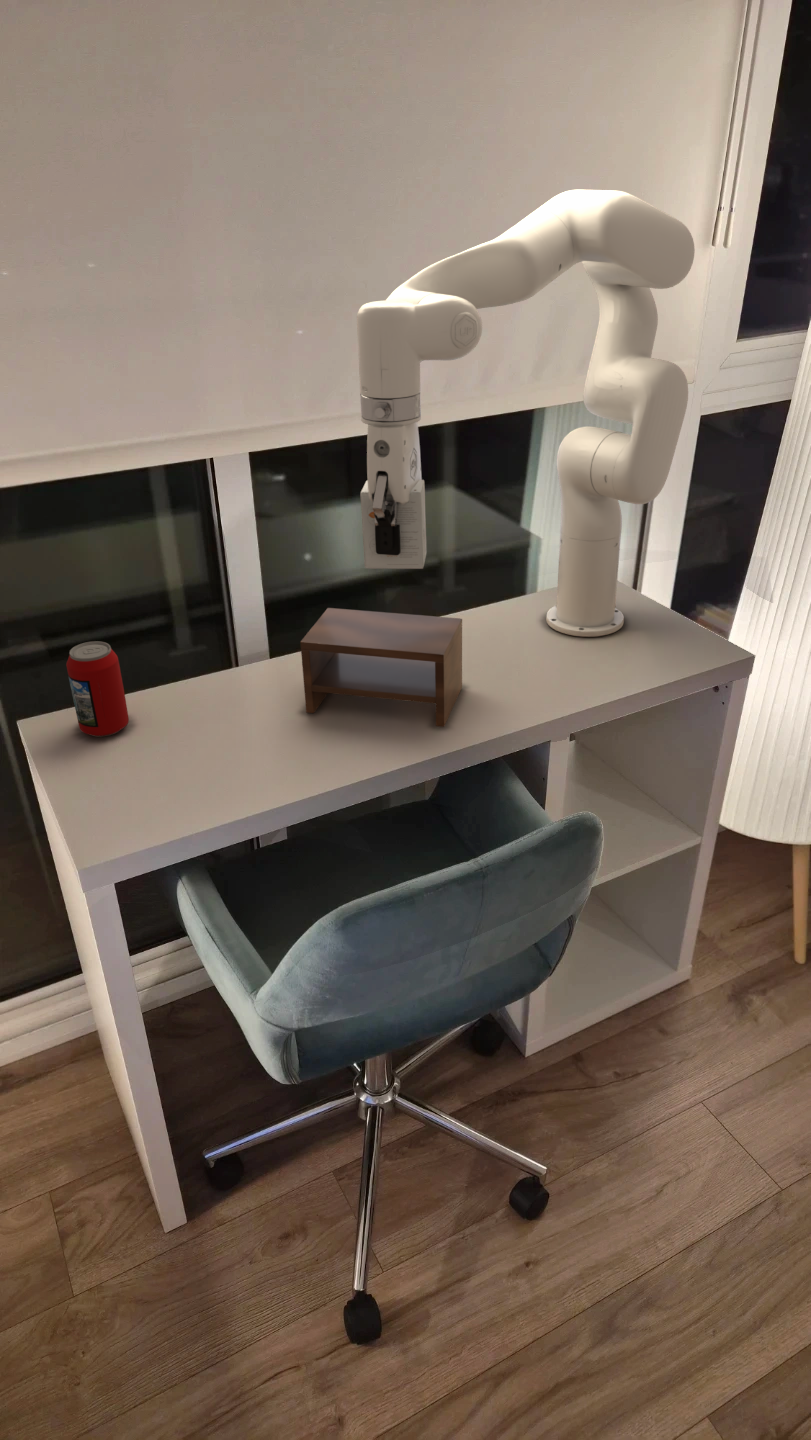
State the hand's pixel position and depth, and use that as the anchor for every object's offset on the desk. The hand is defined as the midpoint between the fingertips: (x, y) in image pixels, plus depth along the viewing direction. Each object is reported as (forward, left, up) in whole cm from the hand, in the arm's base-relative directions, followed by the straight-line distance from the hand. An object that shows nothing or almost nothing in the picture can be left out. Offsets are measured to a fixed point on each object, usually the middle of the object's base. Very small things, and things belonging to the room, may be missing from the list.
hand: (395, 543), depth 138 cm
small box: (0, 0, -3) cm, 3 cm away
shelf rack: (+1, -2, -23) cm, 23 cm away
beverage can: (+17, -38, -23) cm, 48 cm away
